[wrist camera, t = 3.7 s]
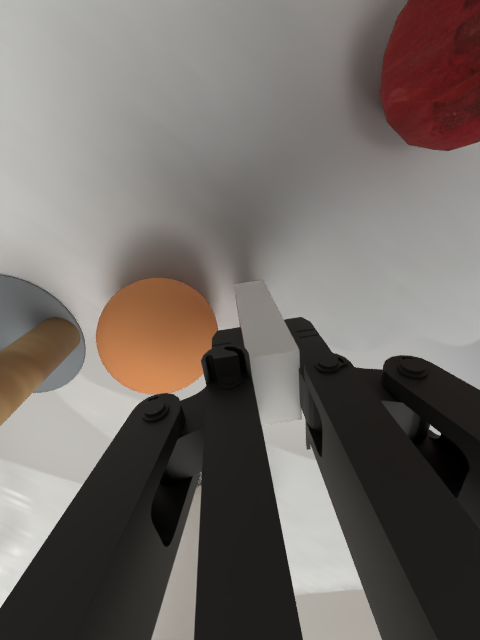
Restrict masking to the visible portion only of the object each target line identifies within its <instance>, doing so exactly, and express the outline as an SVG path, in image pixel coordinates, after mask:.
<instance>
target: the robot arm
mask: <svg viewBox="0 0 480 640" xmlns="http://www.w3.org/2000/svg"><path fill="white" fill-rule="evenodd" d="M234 289H235V296H236V303H237V310H238V316H239V323H240V327H239V328H232V329H226V330H219V331H217V332H216V333H215V334H214V336H213V337H212V349H210V350H208V351H207V352H206V353H205V354H204V355H203V357H202V359H201V364H202V368H203V372H204V377H205V380H206V387H205V388H204V389H203V390H202V391H200V392H199V393H197V394H196V395H193V396H191V397H189V398H186V399H184V400H181V401H180V400H179V398H178V397H176V396H175V395H174V394H168V393H162V394H156V395H154V396H151V397H148V398H147V399H145V400H143V401H142V402H140V403H139V404H138V405H137V406H136V407H135V409H134V410H133V411H132V412H131V414H130V415H129V417H128V418H127V420H126V421H125V423H124V424H123V426H122V427H121V429H120V430H119V432H118V433H117V435H116V436H115V438H114V439H113V441H112V442H111V444H110V445H109V447H108V448H107V450H106V451H105V453H104V454H103V456H102V457H101V459H100V460H99V462H98V463H97V465H96V466H95V468H94V469H93V471H92V472H91V474H90V475H89V477H88V478H87V480H86V481H85V483H84V484H83V486H82V487H81V489H80V490H79V492H78V493H77V495H76V496H75V497H74V499H73V500H72V502H71V503H70V505H69V506H68V508H67V509H66V511H65V512H64V514H63V515H62V517H61V518H60V520H59V521H58V523H57V524H56V526H55V527H54V529H53V530H52V532H51V533H50V535H49V536H48V538H47V539H46V541H45V542H44V544H43V545H42V547H41V548H40V550H39V551H38V553H37V554H36V556H35V557H34V559H33V560H32V562H31V563H30V565H29V566H28V568H27V569H26V571H25V572H24V574H23V575H22V577H21V578H20V580H19V581H18V583H17V584H16V586H15V587H14V589H13V590H12V592H11V593H10V595H9V596H8V598H7V599H6V601H5V602H4V603H3V605H2V606H1V608H0V640H151V639H152V636H153V632H154V629H155V625H156V622H157V619H158V615H159V612H160V608H161V605H162V602H163V598H164V595H165V592H166V588H167V585H168V581H169V578H170V575H171V571H172V568H173V564H174V561H175V558H176V554H177V551H178V548H179V544H180V541H181V537H182V534H183V531H184V527H185V524H186V521H187V517H188V514H189V510H190V507H191V504H192V500H193V497H194V493H195V490H196V487H197V483H198V480H199V477H200V472H201V471H202V484H201V505H200V525H199V545H198V566H197V586H196V606H195V627H194V640H303V638H302V633H301V627H300V622H299V617H298V612H297V607H296V601H295V596H294V591H293V586H292V581H291V576H290V570H289V565H288V560H287V555H286V550H285V545H284V539H283V534H282V529H281V524H280V519H279V514H278V508H277V503H276V498H275V493H274V488H273V483H272V477H271V472H270V467H269V462H268V457H267V452H266V446H265V441H264V436H263V431H262V426H261V425H268V424H274V423H281V422H287V421H293V420H300V419H301V418H302V416H301V409H302V411H303V413H304V416H305V419H306V446H307V449H310V444H311V447H312V449H313V452H314V455H315V458H316V460H317V463H318V466H319V468H320V471H321V474H322V477H323V479H324V482H325V485H326V488H327V490H328V493H329V496H330V499H331V501H332V504H333V507H334V509H335V512H336V515H337V518H338V520H339V523H340V526H341V529H342V531H343V534H344V537H345V539H346V542H347V545H348V548H349V550H350V553H351V556H352V559H353V561H354V564H355V567H356V570H357V572H358V575H359V578H360V580H361V583H362V586H363V589H364V591H365V594H366V597H367V599H368V602H369V605H370V608H371V610H372V613H373V616H374V618H375V621H376V624H377V627H378V630H379V632H380V635H381V638H382V640H480V390H478V389H477V388H475V387H473V386H471V385H470V384H468V383H466V382H464V381H462V380H461V379H459V378H457V377H455V376H454V375H452V374H450V373H448V372H447V371H445V370H443V369H442V368H440V367H438V366H436V365H434V364H433V363H431V362H428V361H426V360H424V359H422V358H418V357H413V356H401V355H400V356H395V357H391V358H389V359H388V360H386V361H385V363H384V365H383V370H378V369H363V368H356V367H354V366H353V365H352V363H351V362H350V361H349V360H347V359H346V358H345V357H343V356H340V355H338V354H334V353H332V352H331V350H330V349H329V347H328V346H327V345H326V343H325V342H324V340H323V339H322V337H321V336H320V335H319V333H318V332H317V330H315V328H314V326H313V325H312V323H311V322H310V321H308V320H306V319H304V318H302V317H299V318H292V319H286V320H284V319H283V317H282V316H281V314H280V312H279V310H278V308H277V306H276V304H275V302H274V300H273V298H272V296H271V294H270V292H269V290H268V288H267V286H266V285H265V283H264V281H263V280H258V281H252V282H245V283H238V284H234ZM430 425H431V426H433V427H434V428H435V429H437V430H438V431H439V432H440V433H441V436H439V435H437V434H435V433H433V432H432V431H431V430H429V427H430Z"/></svg>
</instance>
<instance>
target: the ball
mask: <svg viewBox="0 0 480 640" xmlns="http://www.w3.org/2000/svg"><path fill="white" fill-rule="evenodd" d="M217 331H218V327H217V322H216V318H215V315H214V313H213V311H212V309H211V307H210V305H209V304H208V302H207V301H206V300H205V299H204V297H203V296H202V295H201V294H200V293H199V292H197V291H196V290H195V289H193V288H192V287H190V286H189V285H187V284H185V283H182V282H180V281H177V280H173V279H169V278H148V279H143V280H139V281H136V282H134V283H132V284H130V285H128V286H126V287H124V288H123V289H121V290H120V291H118V292H117V293H116V294H115V295H114V296H113V297H112V298H111V299H110V300H109V302H108V303H107V304H106V306H105V308H104V309H103V311H102V313H101V315H100V318H99V321H98V325H97V331H96V343H97V349H98V353H99V356H100V358H101V361H102V363H103V365H104V366H105V368H106V369H107V371H108V372H109V373H110V374H111V375H112V377H113V378H115V379H116V380H117V381H118V382H120V383H121V384H122V385H124V386H126V387H128V388H130V389H132V390H134V391H137V392H141V393H145V394H162V393H172V392H175V391H178V390H181V389H183V388H185V387H187V386H189V385H190V384H192V383H193V382H195V381H196V380H197V379H198V378H199V377H200V376H201V375H202V374H203V373H204V372H203V368H202V364H201V359H202V357H203V355H204V354H205V353H206V352H207V351H208V350H210V349H212V337H213V336H214V334H215V333H216V332H217Z"/></svg>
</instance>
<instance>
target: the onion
mask: <svg viewBox="0 0 480 640" xmlns="http://www.w3.org/2000/svg"><path fill="white" fill-rule="evenodd" d="M380 97H381V100H382V104H383V108H384V112H385V116H386V120H387V122H388V123H389V125H390V126H391V127H392V128H393V129H394V130H395V131H396V132H397V133H398V134H399V135H400V136H401V137H402V138H403V139H404V140H405V141H406V143H407V144H408V145H413V146H418V147H423V148H428V149H434V150H444V151H450V150H453V149H457V148H460V147H463V146H467V145H470V144H473V143H476V142H479V141H480V0H409V1H408V2H407V4H406V5H405V7H404V8H403V10H402V11H401V13H400V14H399V15H398V17H397V20H396V23H395V25H394V28H393V31H392V34H391V37H390V40H389V42H388V45H387V48H386V51H385V54H384V59H383V66H382V78H381V90H380Z"/></svg>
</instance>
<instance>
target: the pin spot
mask: <svg viewBox="0 0 480 640" xmlns="http://www.w3.org/2000/svg"><path fill="white" fill-rule="evenodd" d="M52 317H59V318H63V319H66V320H68V321H70V322H71V323H72V324H74V325H75V326H76V328H77V329H78V331H79V333H80V337H81V340H80V343H79V345H78V346H77V347H76V348H75V349H74V350H73V351H72V352H71V353H70V354H69V355H68V356H67V358H66V359H65V360H64V361H63V362H62V363H61V364H60V365H59V366H58V367H57V368H56V369H55V370H54V371H53V372H52V373H51V374H50V375H49V376H48V377H47V378H46V379H45V380H44V381H43V382H42V383H41V384H40V385H39V387H38V388H37V389H36V390H35V391H34V392H33V393H41V392H48V391H51V390H55V389H58V388H60V387H62V386H64V385H66V384H67V383H69V382H70V381H71V380H72V379H73V378H74V377H75V376H76V375H77V374H78V372H79V371H80V369H81V368H82V365H83V363H84V359H85V349H86V348H85V341H84V337H83V334H82V331H81V329H80V327H79V325H78V323H77V322H76V320H75V318H74V317H73V316H72V315H71V313H70V312H69V311H68V310H67V309H66V308H65V307H64V305H63V304H62V303H60V302H59V301H58V300H57V299H56V298H54V297H53V296H52V295H50V294H49V293H47V292H46V291H44V290H42V289H41V288H39V287H37V286H35V285H33V284H31V283H28V282H26V281H23V280H20V279H17V278H13V277H9V276H4V275H0V351H2V350H3V349H4V348H6V347H7V346H9V345H10V344H12V343H13V342H14V341H16V340H17V339H19V338H20V337H22V336H23V335H24V334H26V333H27V332H29V331H30V330H32V329H33V328H34V327H36V326H37V325H39V324H40V323H41V322H43V321H44V320H46V319H48V318H52Z"/></svg>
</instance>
